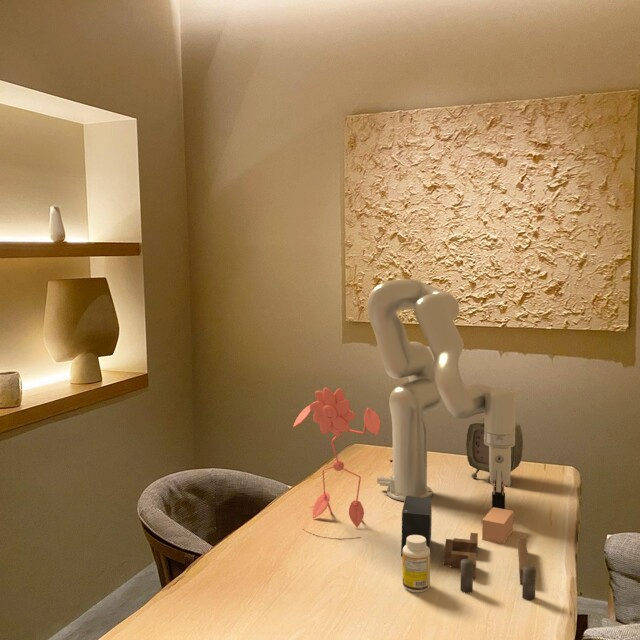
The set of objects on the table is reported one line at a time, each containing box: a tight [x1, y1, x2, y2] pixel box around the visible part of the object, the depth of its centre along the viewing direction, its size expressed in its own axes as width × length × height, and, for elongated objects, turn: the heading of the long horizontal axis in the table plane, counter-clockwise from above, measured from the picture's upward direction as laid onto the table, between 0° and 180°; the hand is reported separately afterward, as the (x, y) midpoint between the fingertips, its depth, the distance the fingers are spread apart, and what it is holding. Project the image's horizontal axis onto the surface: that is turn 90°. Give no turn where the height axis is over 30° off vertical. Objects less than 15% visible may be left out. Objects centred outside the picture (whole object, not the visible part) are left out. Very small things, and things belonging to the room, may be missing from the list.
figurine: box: [292, 387, 382, 541], centre depth 169 cm, size 15×26×35 cm, turn 56°
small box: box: [400, 496, 433, 557], centre depth 157 cm, size 11×6×10 cm, turn 168°
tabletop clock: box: [465, 417, 524, 486], centre depth 202 cm, size 14×9×25 cm, turn 55°
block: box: [481, 507, 514, 545], centre depth 164 cm, size 5×9×5 cm, turn 151°
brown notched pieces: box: [443, 532, 537, 601], centre depth 146 cm, size 18×22×6 cm
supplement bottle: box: [402, 535, 431, 593], centre depth 139 cm, size 6×6×10 cm
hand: (498, 508), depth 175 cm, fingers closed
